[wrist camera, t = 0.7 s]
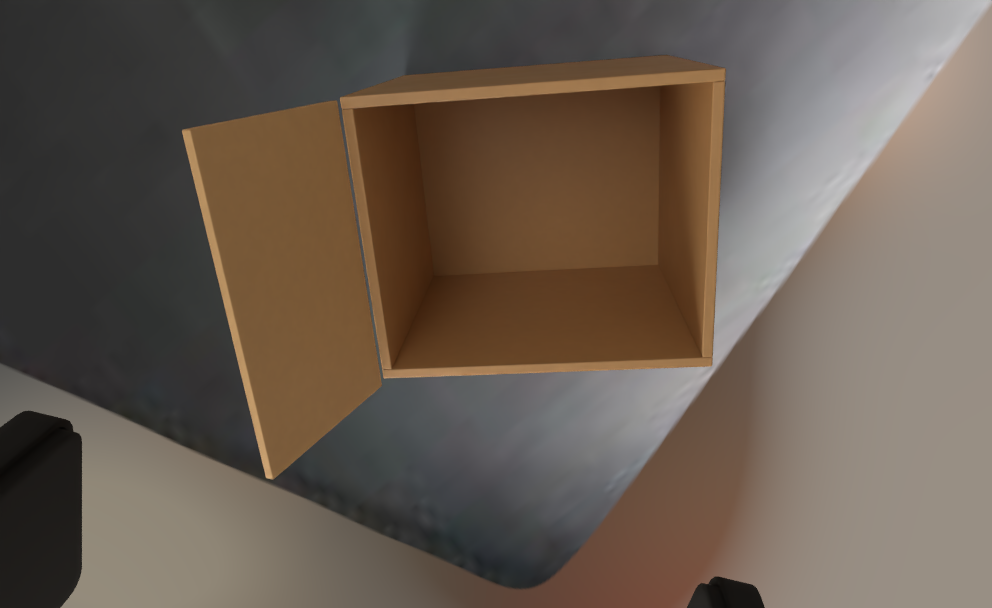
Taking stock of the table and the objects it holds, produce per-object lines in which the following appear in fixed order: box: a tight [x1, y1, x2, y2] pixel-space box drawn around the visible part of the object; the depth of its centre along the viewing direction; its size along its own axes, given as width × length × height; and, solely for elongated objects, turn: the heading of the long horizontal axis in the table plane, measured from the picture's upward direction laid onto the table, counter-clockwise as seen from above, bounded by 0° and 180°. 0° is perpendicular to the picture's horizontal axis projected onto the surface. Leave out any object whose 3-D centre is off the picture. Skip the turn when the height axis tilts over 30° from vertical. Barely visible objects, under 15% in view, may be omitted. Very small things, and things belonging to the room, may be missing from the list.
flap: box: [182, 101, 382, 479], centre depth 22 cm, size 6×11×1 cm
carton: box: [340, 55, 726, 378], centre depth 30 cm, size 13×11×11 cm
